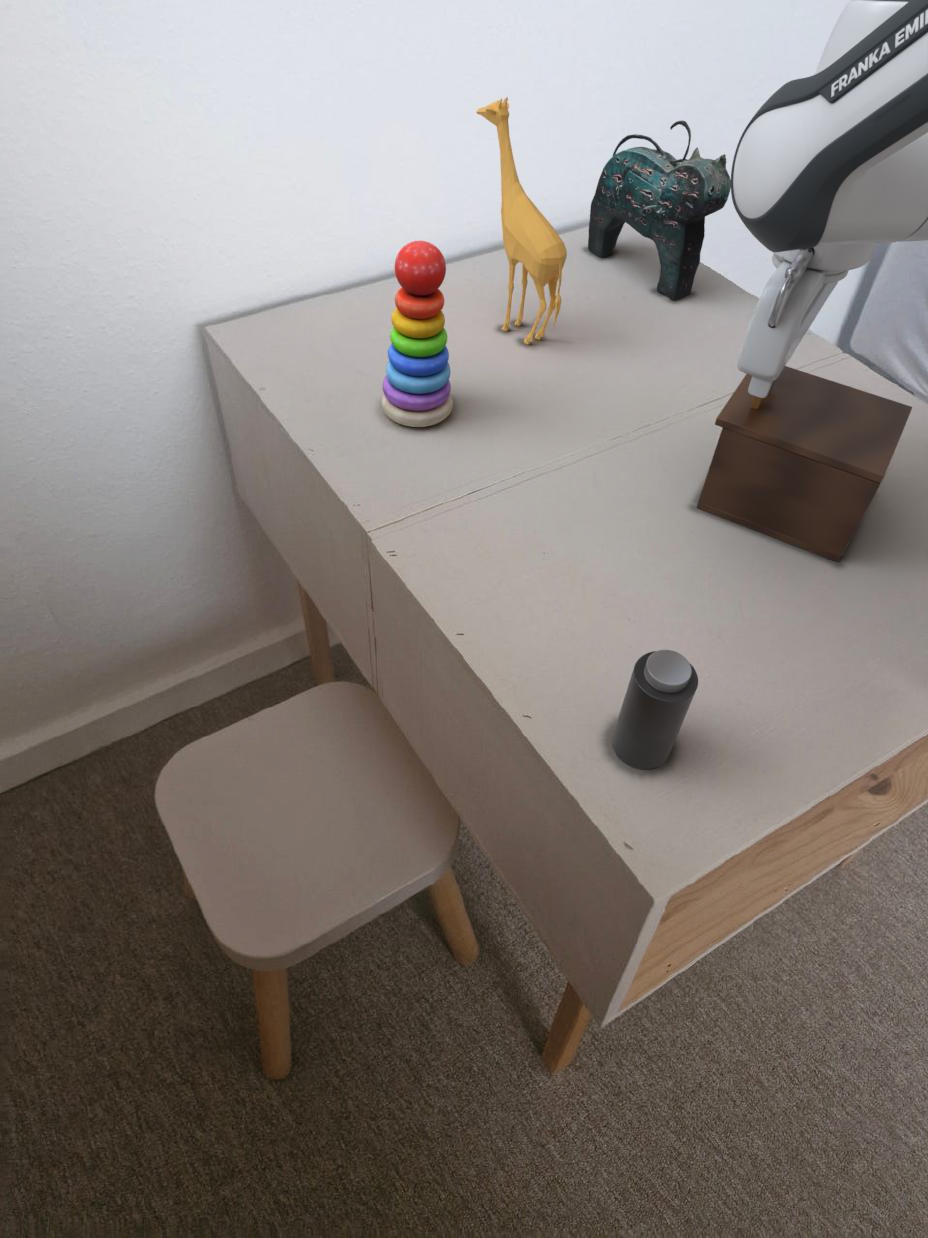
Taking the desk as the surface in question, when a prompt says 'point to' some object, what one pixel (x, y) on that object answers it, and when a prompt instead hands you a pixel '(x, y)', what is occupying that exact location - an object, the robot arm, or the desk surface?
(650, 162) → the ceramic cat
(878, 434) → the chest door
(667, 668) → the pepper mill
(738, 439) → the chest
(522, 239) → the giraffe
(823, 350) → the desk surface
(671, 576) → the desk surface
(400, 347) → the stacking toy
